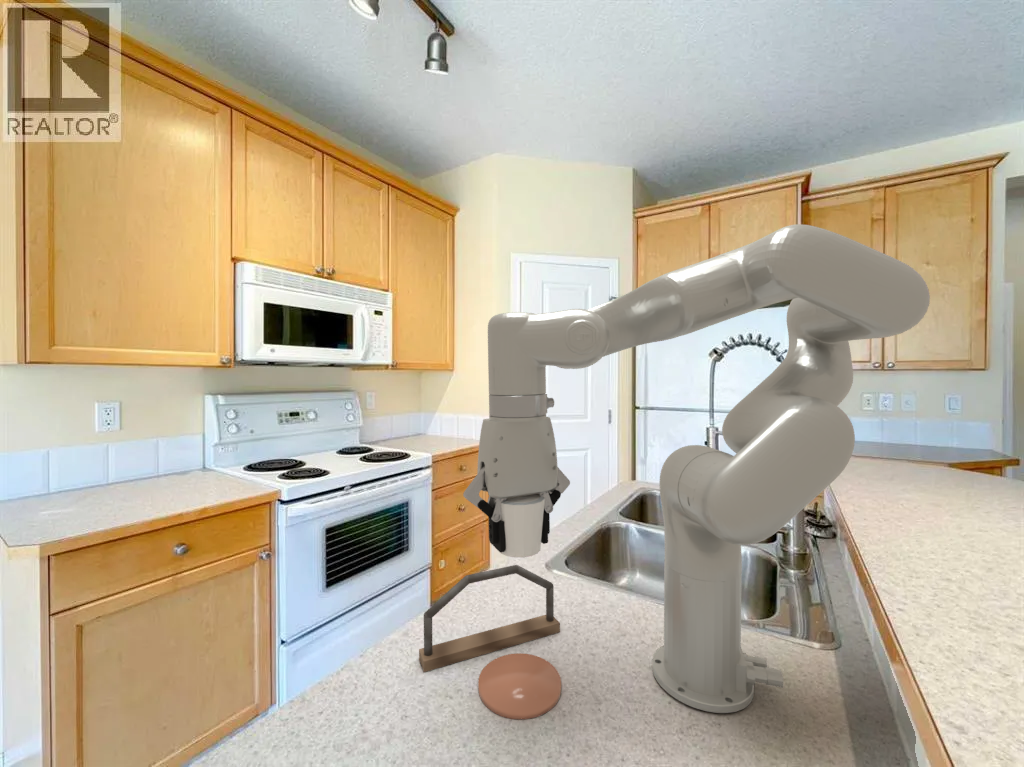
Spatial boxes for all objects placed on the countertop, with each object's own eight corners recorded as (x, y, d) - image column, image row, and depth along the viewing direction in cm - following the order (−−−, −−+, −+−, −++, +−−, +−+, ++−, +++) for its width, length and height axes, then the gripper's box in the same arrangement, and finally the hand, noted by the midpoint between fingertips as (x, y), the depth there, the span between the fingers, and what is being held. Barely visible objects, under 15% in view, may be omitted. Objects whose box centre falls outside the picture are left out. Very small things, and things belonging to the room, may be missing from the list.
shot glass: (541, 561, 53) (541, 505, 53) (487, 557, 55) (487, 502, 55) (548, 540, 60) (548, 490, 60) (500, 537, 61) (499, 488, 61)
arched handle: (550, 622, 72) (550, 553, 72) (559, 632, 69) (559, 560, 69) (419, 659, 63) (418, 580, 63) (423, 672, 60) (423, 590, 60)
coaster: (568, 668, 61) (568, 662, 61) (550, 729, 51) (550, 722, 51) (495, 652, 64) (495, 647, 64) (464, 706, 54) (464, 700, 54)
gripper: (559, 403, 64) (561, 524, 64) (446, 409, 57) (449, 545, 57) (588, 406, 57) (590, 542, 57) (463, 414, 50) (466, 568, 50)
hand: (519, 542), depth 57 cm, fingers closed on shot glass, 5 cm apart
